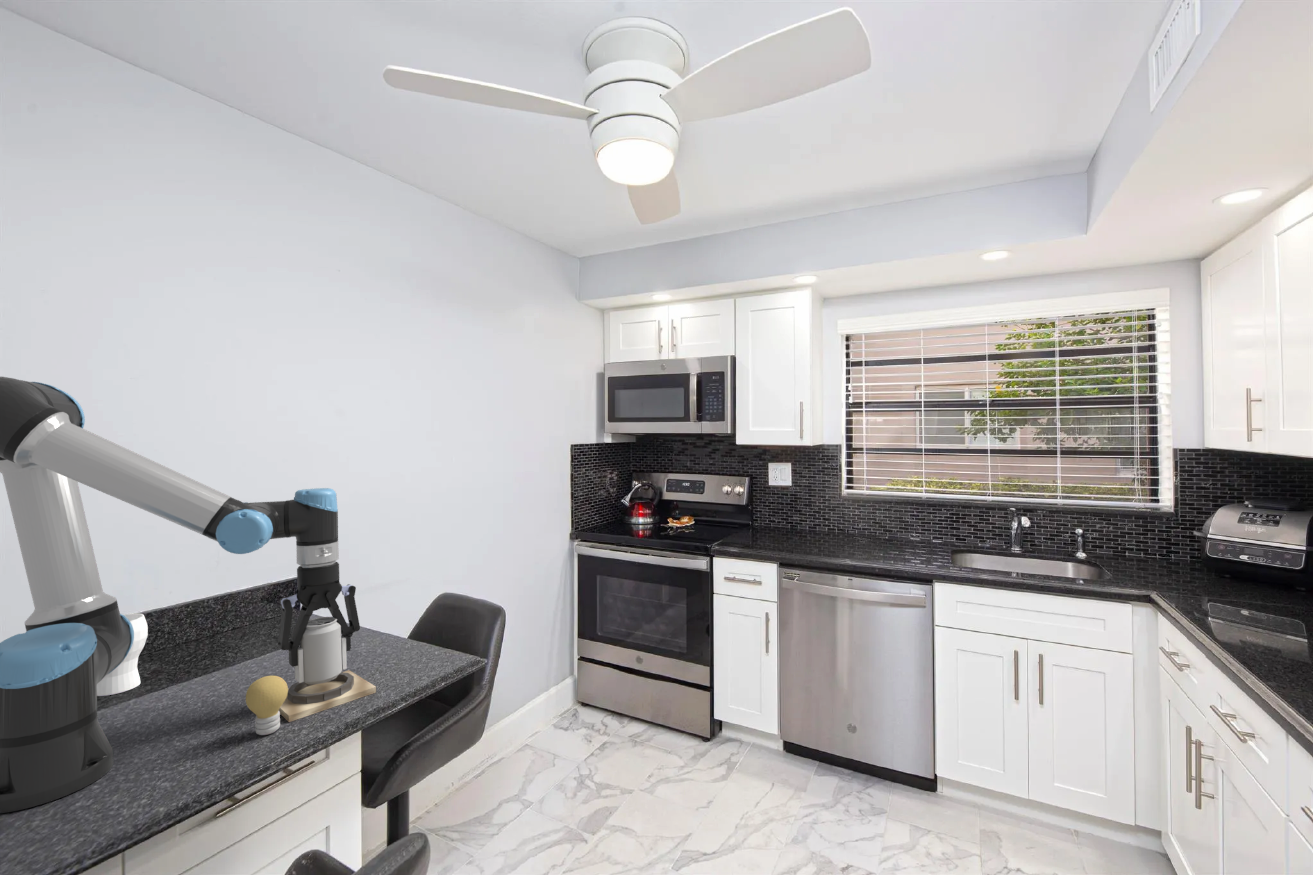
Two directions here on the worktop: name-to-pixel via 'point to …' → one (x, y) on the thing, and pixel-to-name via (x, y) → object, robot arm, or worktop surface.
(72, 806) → the worktop surface
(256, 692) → the light bulb
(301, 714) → the board
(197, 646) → the worktop surface
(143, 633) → the cup
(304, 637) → the can
